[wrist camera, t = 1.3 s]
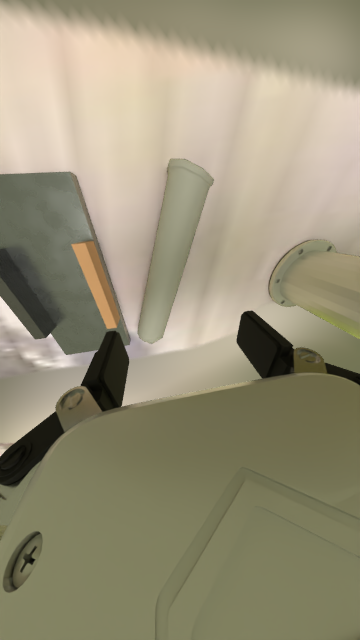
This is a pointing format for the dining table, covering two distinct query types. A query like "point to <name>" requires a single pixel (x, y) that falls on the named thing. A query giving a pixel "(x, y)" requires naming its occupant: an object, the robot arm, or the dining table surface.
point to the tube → (172, 243)
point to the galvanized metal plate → (50, 260)
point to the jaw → (97, 281)
